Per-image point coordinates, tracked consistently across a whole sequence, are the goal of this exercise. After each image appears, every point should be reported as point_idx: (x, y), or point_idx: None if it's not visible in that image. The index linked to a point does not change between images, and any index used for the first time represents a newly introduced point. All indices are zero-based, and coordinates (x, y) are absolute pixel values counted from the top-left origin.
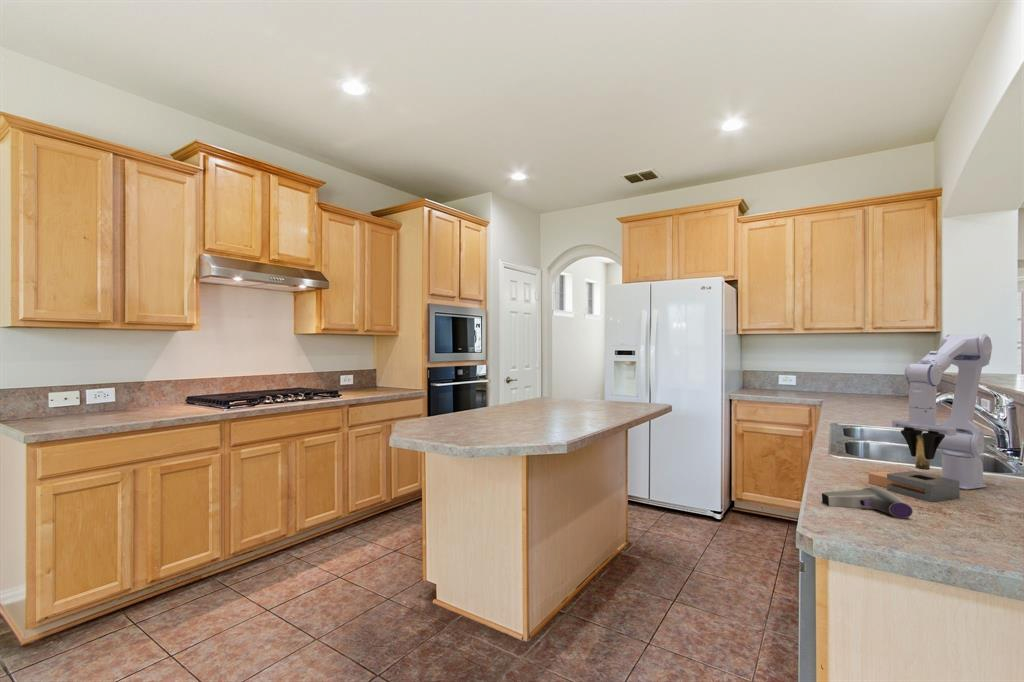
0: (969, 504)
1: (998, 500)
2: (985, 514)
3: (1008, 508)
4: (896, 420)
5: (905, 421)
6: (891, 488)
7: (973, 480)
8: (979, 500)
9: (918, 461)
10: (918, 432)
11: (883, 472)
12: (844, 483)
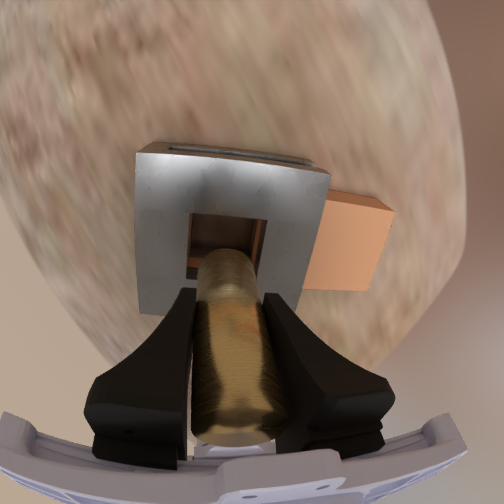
0: (100, 235)
1: (113, 338)
2: (35, 171)
3: (61, 288)
4: (441, 466)
5: (390, 490)
6: (295, 158)
7: None
8: (122, 302)
9: (232, 269)
10: (286, 451)
11: (366, 269)
12: (414, 122)
